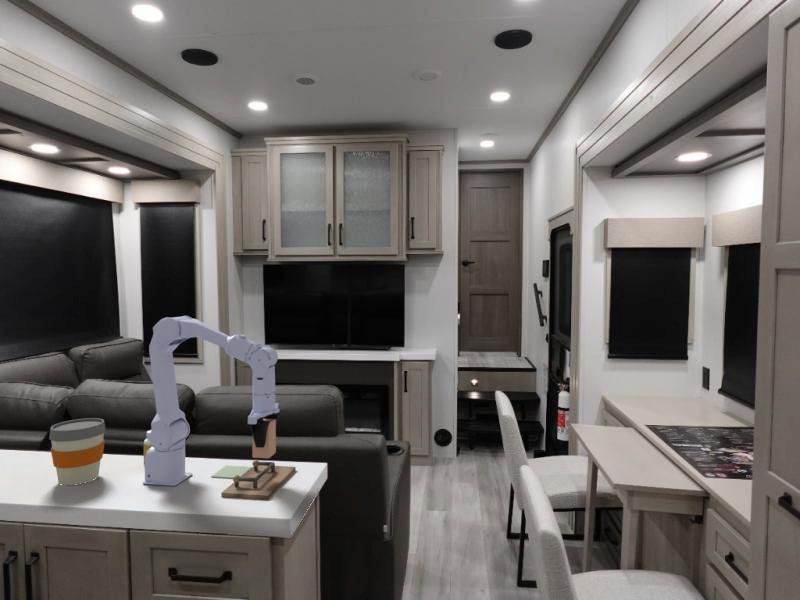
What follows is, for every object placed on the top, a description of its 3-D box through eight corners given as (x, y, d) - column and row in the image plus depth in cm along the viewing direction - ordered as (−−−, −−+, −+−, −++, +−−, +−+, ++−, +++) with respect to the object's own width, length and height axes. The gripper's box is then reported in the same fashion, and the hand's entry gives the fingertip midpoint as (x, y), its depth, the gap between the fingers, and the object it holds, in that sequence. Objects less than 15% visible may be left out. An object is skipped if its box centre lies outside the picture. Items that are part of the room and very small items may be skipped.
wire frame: (221, 496, 117) (221, 481, 117) (255, 468, 136) (255, 454, 136) (267, 499, 115) (267, 483, 115) (295, 470, 134) (295, 456, 134)
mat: (211, 477, 129) (211, 476, 129) (226, 466, 137) (226, 465, 137) (238, 479, 128) (238, 477, 128) (252, 467, 136) (252, 466, 136)
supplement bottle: (155, 468, 136) (155, 434, 136) (139, 466, 137) (139, 433, 137) (168, 461, 141) (168, 428, 141) (152, 460, 142) (152, 427, 142)
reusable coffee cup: (37, 486, 124) (36, 429, 123) (80, 468, 136) (80, 416, 135) (76, 491, 121) (75, 432, 120) (117, 472, 133) (116, 419, 132)
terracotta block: (252, 457, 123) (252, 423, 123) (260, 451, 128) (259, 418, 128) (268, 458, 123) (268, 423, 123) (275, 452, 127) (275, 419, 127)
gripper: (266, 399, 117) (267, 453, 118) (288, 387, 132) (289, 436, 132) (239, 398, 118) (240, 452, 119) (264, 386, 133) (265, 435, 133)
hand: (264, 443), depth 125 cm, fingers closed on terracotta block, 4 cm apart
